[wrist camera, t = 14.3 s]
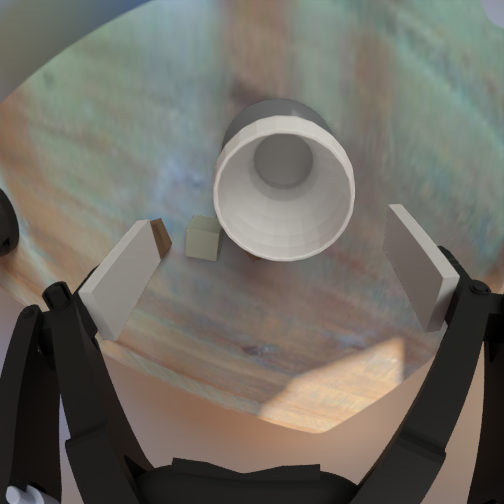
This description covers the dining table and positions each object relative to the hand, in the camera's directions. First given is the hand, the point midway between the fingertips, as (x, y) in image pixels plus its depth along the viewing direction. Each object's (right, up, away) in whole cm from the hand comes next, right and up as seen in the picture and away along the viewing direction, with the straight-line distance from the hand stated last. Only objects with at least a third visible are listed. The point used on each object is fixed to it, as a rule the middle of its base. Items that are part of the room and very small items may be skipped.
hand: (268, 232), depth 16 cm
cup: (+3, +10, +17) cm, 20 cm away
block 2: (-7, +2, +23) cm, 24 cm away
